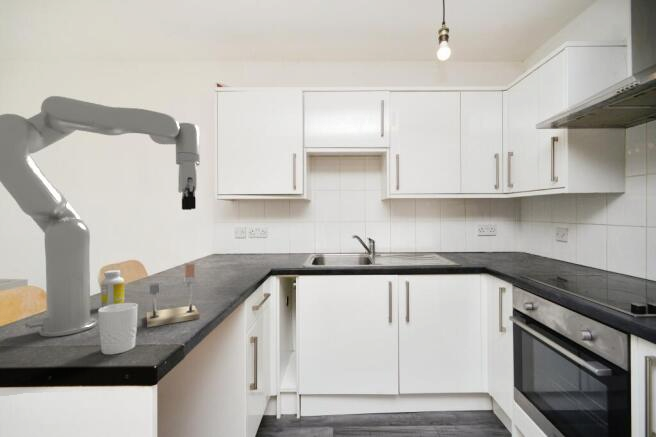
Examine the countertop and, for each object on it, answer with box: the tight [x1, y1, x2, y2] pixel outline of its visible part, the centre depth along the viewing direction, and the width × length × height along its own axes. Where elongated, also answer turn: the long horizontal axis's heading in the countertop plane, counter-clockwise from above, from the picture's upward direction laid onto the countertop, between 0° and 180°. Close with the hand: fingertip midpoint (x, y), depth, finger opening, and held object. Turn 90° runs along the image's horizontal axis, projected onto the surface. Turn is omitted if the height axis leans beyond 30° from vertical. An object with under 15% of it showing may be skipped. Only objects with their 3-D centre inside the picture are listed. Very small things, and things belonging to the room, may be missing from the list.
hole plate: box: [146, 304, 200, 328], centre depth 98 cm, size 14×11×2 cm
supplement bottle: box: [100, 269, 125, 308], centre depth 109 cm, size 7×7×13 cm
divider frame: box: [148, 280, 197, 316], centre depth 97 cm, size 13×3×9 cm, turn 121°
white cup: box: [97, 302, 139, 355], centre depth 75 cm, size 8×8×10 cm
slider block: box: [183, 262, 196, 310], centre depth 100 cm, size 3×4×14 cm
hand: (188, 209), depth 108 cm, fingers open, 9 cm apart
